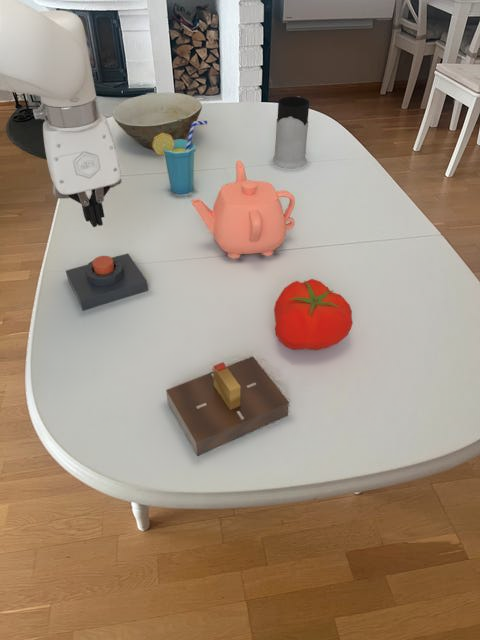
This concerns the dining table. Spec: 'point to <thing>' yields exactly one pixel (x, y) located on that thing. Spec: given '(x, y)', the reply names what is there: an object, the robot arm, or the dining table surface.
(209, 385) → the plate
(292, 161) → the glass holder
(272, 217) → the teapot
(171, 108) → the bowl
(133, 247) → the dining table surface
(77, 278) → the button box
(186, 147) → the cup
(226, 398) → the lock knob
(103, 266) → the round orange push button
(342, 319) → the tomato
